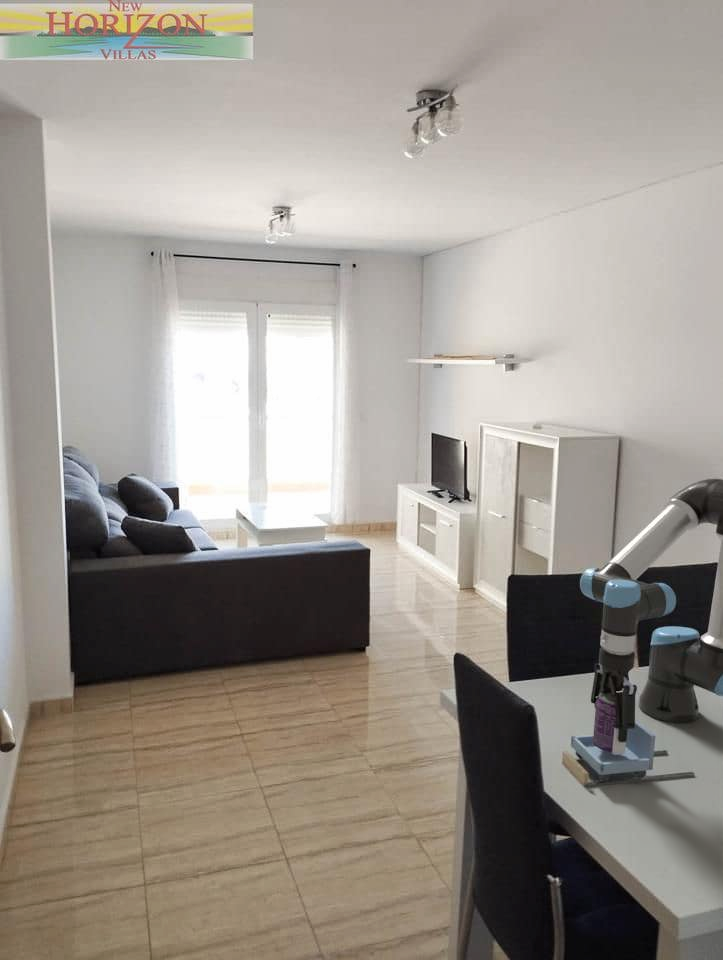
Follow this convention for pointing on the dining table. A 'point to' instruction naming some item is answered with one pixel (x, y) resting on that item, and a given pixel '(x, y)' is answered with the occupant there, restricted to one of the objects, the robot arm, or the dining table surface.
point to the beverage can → (604, 722)
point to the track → (583, 779)
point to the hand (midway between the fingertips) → (609, 744)
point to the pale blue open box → (607, 763)
